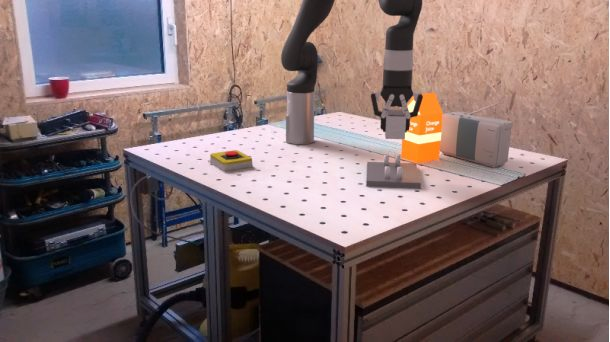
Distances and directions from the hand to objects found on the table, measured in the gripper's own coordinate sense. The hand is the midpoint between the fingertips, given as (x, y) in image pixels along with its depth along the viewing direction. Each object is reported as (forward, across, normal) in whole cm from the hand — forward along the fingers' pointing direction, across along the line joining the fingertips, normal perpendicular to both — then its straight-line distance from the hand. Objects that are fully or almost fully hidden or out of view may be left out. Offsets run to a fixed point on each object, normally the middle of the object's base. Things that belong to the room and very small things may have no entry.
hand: (394, 131), depth 149 cm
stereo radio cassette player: (+13, +25, +21) cm, 35 cm away
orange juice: (+13, +9, +20) cm, 25 cm away
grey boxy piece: (+1, 0, 0) cm, 1 cm away
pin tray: (+13, 0, 0) cm, 13 cm away
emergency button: (+13, -47, +6) cm, 49 cm away
